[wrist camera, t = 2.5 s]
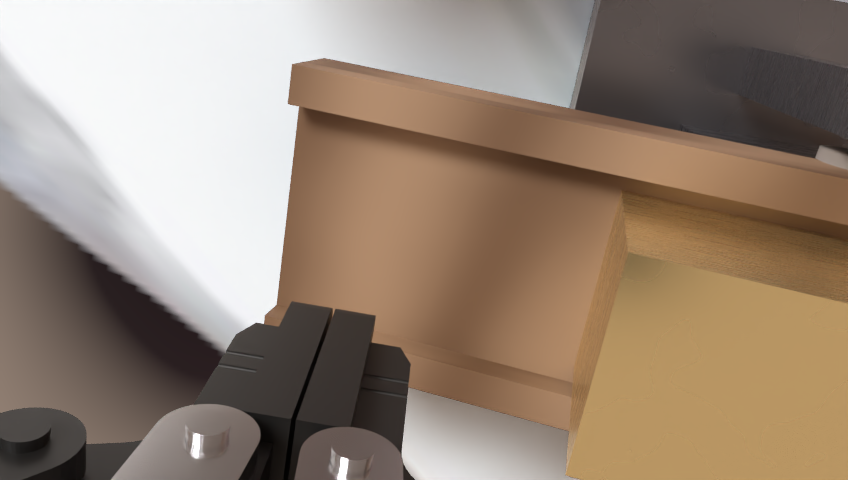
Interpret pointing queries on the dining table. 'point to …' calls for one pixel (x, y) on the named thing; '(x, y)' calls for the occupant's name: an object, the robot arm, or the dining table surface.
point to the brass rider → (712, 351)
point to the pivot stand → (722, 69)
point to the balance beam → (496, 220)
